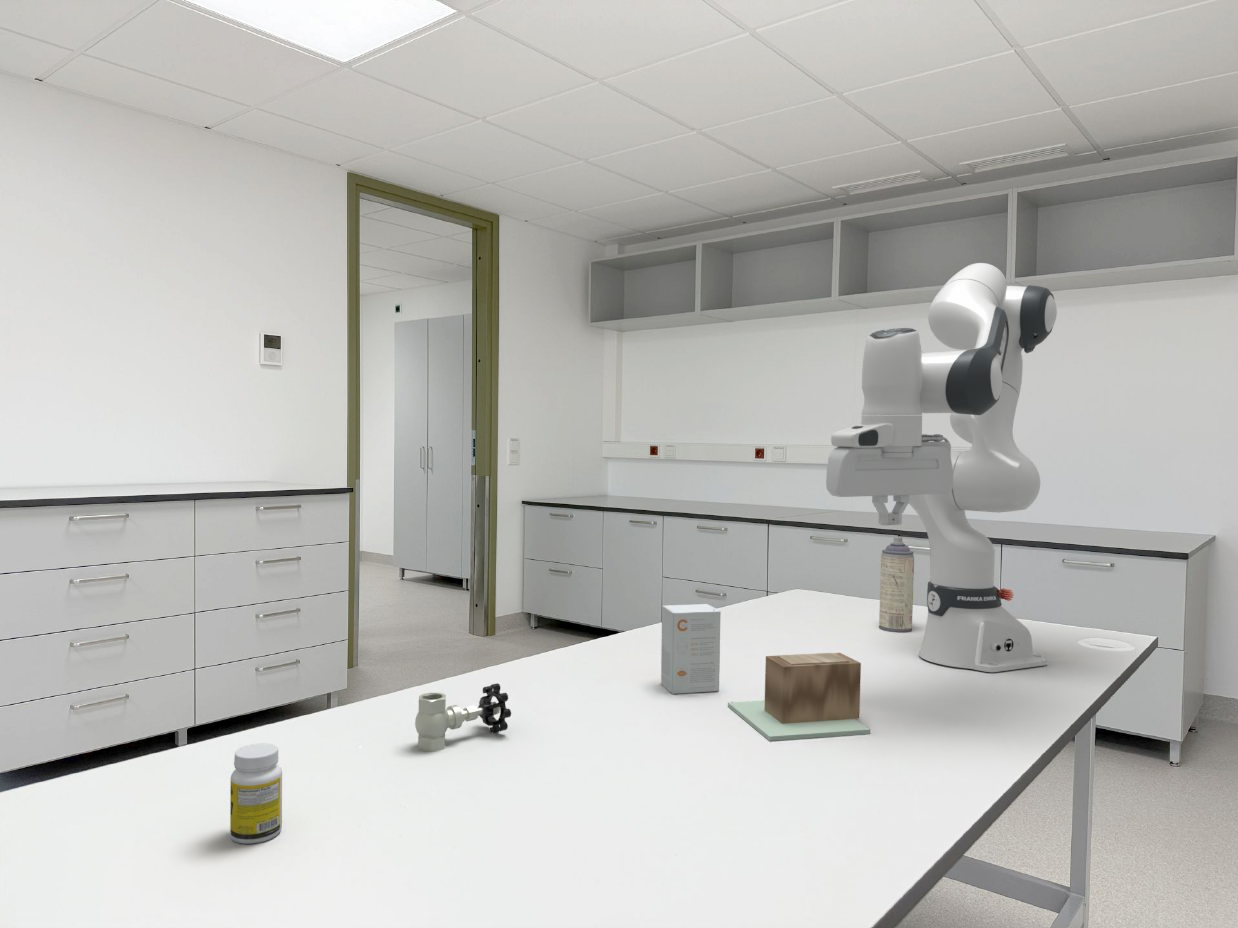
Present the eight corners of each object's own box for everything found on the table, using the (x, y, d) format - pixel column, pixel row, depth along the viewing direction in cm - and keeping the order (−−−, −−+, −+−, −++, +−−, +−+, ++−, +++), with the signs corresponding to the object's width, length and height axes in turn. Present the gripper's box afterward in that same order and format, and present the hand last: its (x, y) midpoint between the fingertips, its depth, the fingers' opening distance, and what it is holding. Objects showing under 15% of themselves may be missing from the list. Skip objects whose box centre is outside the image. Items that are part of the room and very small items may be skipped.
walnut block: (840, 651, 127) (765, 654, 124) (860, 661, 121) (783, 665, 118) (838, 705, 127) (764, 710, 124) (859, 718, 122) (782, 723, 119)
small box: (706, 680, 141) (707, 603, 141) (719, 692, 135) (721, 610, 135) (659, 683, 139) (661, 604, 139) (671, 694, 133) (673, 612, 133)
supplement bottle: (240, 823, 86) (241, 741, 86) (288, 822, 87) (288, 740, 86) (222, 845, 81) (223, 759, 81) (272, 844, 82) (273, 758, 82)
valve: (429, 758, 105) (511, 738, 113) (429, 705, 105) (511, 689, 112) (404, 743, 110) (484, 724, 118) (405, 692, 110) (485, 677, 118)
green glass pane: (818, 700, 131) (818, 696, 131) (870, 733, 117) (870, 729, 117) (727, 706, 128) (728, 702, 128) (769, 740, 113) (769, 736, 113)
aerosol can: (918, 631, 182) (921, 539, 182) (889, 632, 181) (892, 539, 180) (900, 625, 189) (903, 535, 188) (873, 625, 187) (875, 535, 187)
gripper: (937, 433, 135) (936, 520, 136) (821, 434, 130) (820, 524, 131) (963, 434, 129) (961, 524, 130) (842, 435, 124) (841, 529, 125)
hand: (890, 524), depth 130 cm, fingers closed
